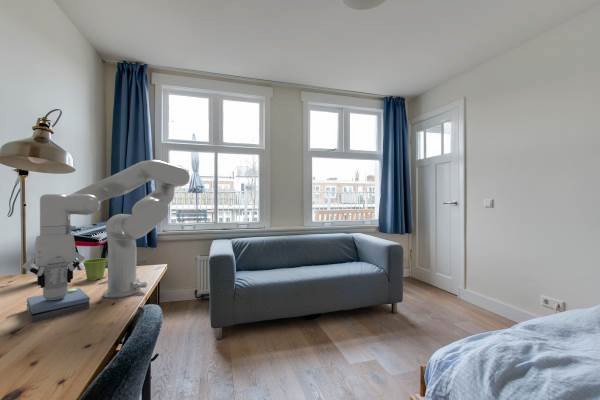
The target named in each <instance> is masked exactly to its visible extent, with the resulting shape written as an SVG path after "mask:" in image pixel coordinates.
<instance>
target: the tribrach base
mask: <svg viewBox="0 0 600 400" xmlns="http://www.w3.org/2000/svg"><path fill="white" fill-rule="evenodd" d="M87 309H90V301H89V302H86V303H81V304H76V305H72V306H67V307H62V308H58V309H53V310H49V311H44V312H39V313H35V314H32V313H31V310H30V308H29V306H28V304H26V311H27V314H28V316H29V318H30V322H31V323H36V322H40V321H43V320H48V319H53V318H55V317H59V316H63V315H67V314H71V313H74V312H79V311H84V310H87Z"/></svg>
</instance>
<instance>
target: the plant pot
mask: <svg viewBox="0 0 600 400" xmlns="http://www.w3.org/2000/svg"><path fill="white" fill-rule="evenodd" d="M82 263H83V266H84V270H85V275H86V281H87V280H88V281H97V280H102V279H103V278H104V275H105V269H106V264H107V263H108V257H106V258H103V257H98V258H90V259H86V260H85V259H84V260H83V261H82Z"/></svg>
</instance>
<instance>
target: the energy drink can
mask: <svg viewBox="0 0 600 400" xmlns="http://www.w3.org/2000/svg"><path fill="white" fill-rule="evenodd" d="M67 269H68V267H67V263H65V258H64V257H61V256H54V257H52V258H51V259H49V261H48V265H47V266H46V267H45V270H44V272H43V275H44V288H42V290H43V291H42V295H43V297H44V298H45V299H46V300H56V299H60V298H63V297H65V295H66V294H67V293H68V287H69V285H68V284H69V283H68V270H67Z"/></svg>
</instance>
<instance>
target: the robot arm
mask: <svg viewBox="0 0 600 400" xmlns="http://www.w3.org/2000/svg"><path fill="white" fill-rule="evenodd" d="M190 179H191V178H190V174H189V172H188V171H187V169H185V168H184V167H181V166H178V165H176V164H175V165H174V164H171V163H167V162H165V161H162V160H158V159H157V160H156V159H151V160H142V161H139V162H137V163H135V164H133V165H130V166H129V167H127V168H125V169H123V170H121V171H119V172H117V173H114V174H113V175H110V176H107V177H106V178H103V179H101V180H99V181H97V182H94V183H92V184H90V185H87V186H85V187H84V188H81V189H79V190H77V191H75V192H73V193H71V194H69V195H67V194H60V193H59V194H57V193H55V194H54V193H51V194H50V193H49V194H43V195H41V196H40V197H39V235H36V237H35V241H34V248H33V255H32V257H31V258H30V259H28V260H27V261H26V262H24V264H23V265H22V268H23V269H24V270H26V271H29V272H30V273H33V275H36V277H37V286H39V287H40V288H41V289H43V288H44V275H43V272H44V270H45V267H46V266H47V265H48V261H49V259H51V258H52V257H54V256H61V257H64V258H65V263H67V270H68V284H70V283H71V282H72V280H73V279H74V270H75V269H76V268H77V267H78V266H79V265H80V264H82V263H83V261H85V259H86V257H85V256H83V255H82V254H80V252H77V251H76V241H75V236H74V234H73V233H72V231H76V230H77V227H76V226H73V225H72V224H71V215H79V216H81V215H82V216H88V215H92V214H95V213H97V212H98V211H99V210H100V208H101V202H103V201H106V200H108V199H112V198H117V197H121V196H123V195H127V194H129V193H130V192H132V191H134V190H135V189H138V188H139V187H141V186H142V185H145V184H146V183H148V182H150V181H157V186H156V188H155V189H154V190H153V191H151V192H150V193H149V194H147V195H145V196H144V197H143V198H142V199H140V200H138V201H137V202H135V204H134V205H133V206H132V208H131V213H132V214H130V213H129V214H126V213H118V214H115V215H113V216H111V217H110V218H109V219H108V220H107V222H106V225H105V234H106V239H107V259H108V260H107V289H105V290H104V291H103V292H102V296H103V297H105V298H107V299H116V298H124V297H129V296H132V295H135V294H138V293H139V292H140V291H141V289H144V288H145V289H146V288H147V287H148V282H146V281H140V278H137V240H138V239H141V238H143V237H144V236H146V235H147V234H148V233H150V232H151V231H152V230H153V229H155V228H156V227H157V226H158V225H159V224H161V223H163V222H164V220H166V218H167V216H168V214H169V206H168V205H169V204H170V203H172V201H173V200H174V198H175V188H176V187H184V186H186V185H187V184H188V183H189V181H190ZM76 258H77V259H76ZM32 264H34V265H35V267H38V268H35V267H33V266H32Z"/></svg>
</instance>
